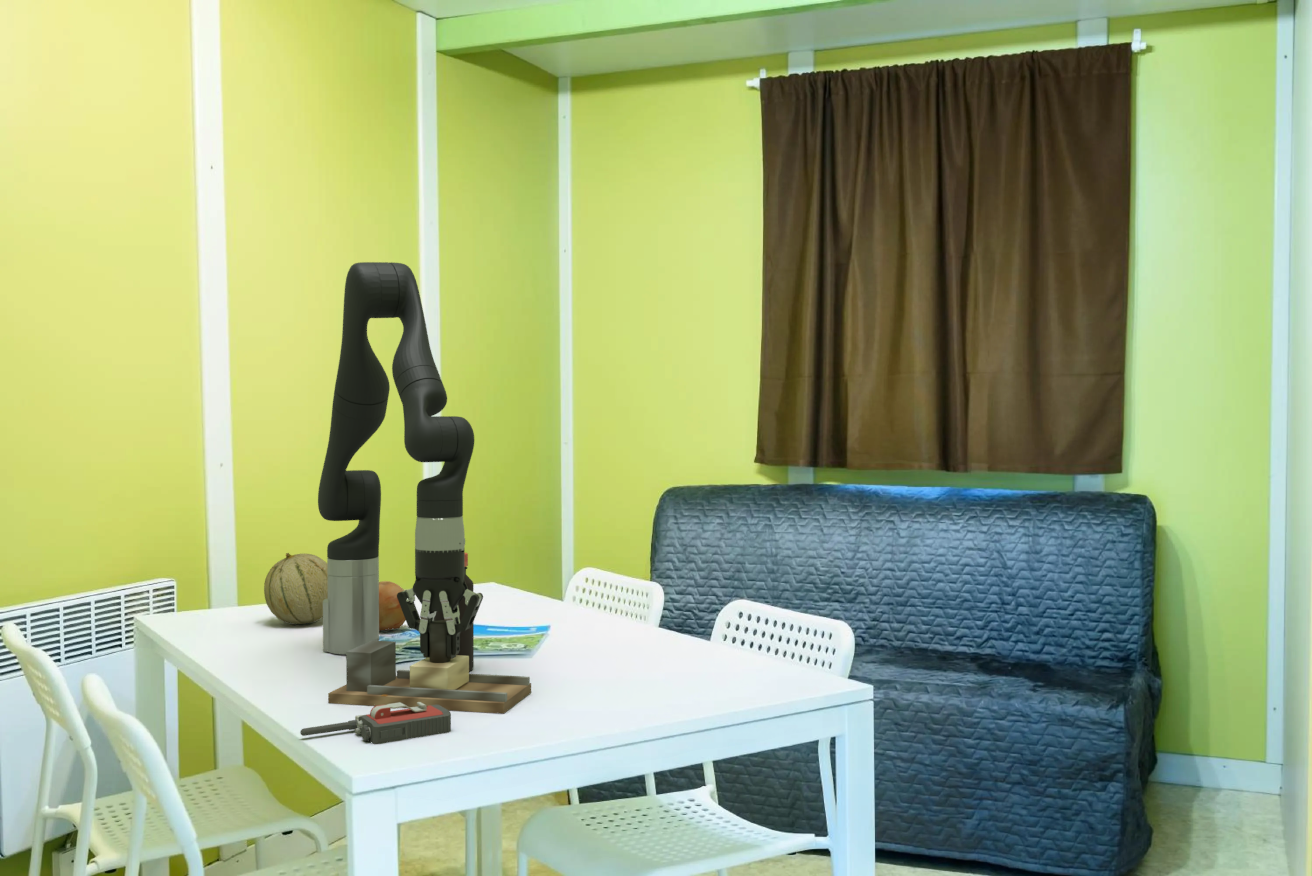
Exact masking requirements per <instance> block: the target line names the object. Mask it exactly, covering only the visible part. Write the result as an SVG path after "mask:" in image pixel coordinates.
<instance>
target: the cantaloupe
mask: <svg viewBox="0 0 1312 876" xmlns="http://www.w3.org/2000/svg"><path fill="white" fill-rule="evenodd" d="M266 574H267V575H266V577H265V579H264V586H263V593H264V599H265V603H266V605H267V607H268V609H269V611H270V612H271V613H272V615H274V616H275V617H276V618H277V619H278V620H279V621H281V622H283V623H287V624H291V625H306V623H308V624H312V623H315V622H317V621H319V620H320V619H323V600H324V599H327V598H328V590H327V562H326V561H325V560H324V559H322V558H321V557H319V556H317V555H315V554H312V553H311V554H310V553H304V552H303V553H296V554H291V553H290V552H287V553H285V558H282V559H281V560H279V561H277V562H276V563H274V565H272V566H271V568H270V569H269V571H268V572H267V573H266Z"/></svg>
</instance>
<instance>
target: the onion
mask: <svg viewBox="0 0 1312 876" xmlns="http://www.w3.org/2000/svg"><path fill="white" fill-rule="evenodd" d="M405 590H406V589H403V587H402V586H401V585H399V584H397V583H395V582H392V581H388V580H384V581H379V632H381V631H391V630H398V629H400V628H401V627H402V626H403V625H404V623H405V622H406V619H405V617H404V614H403V612H402V609H401V606H400V604H399V601H398V599H397V594H398V593H399V592H402V591H405Z"/></svg>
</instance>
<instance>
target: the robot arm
mask: <svg viewBox="0 0 1312 876" xmlns="http://www.w3.org/2000/svg"><path fill="white" fill-rule="evenodd" d="M345 277H346V278H345V284H344V293H343V295H344V297H343V312H342V313H343V316H342V333H341V345H340V353H339V361H338V366H337V374H336V378H335V384H334V391H333V398H332V407H331V418H330V427H329V429H330V430H329V435H328V442H327V448H326V453H325V457H324V463H323V466H322V469H321V471H322V472H321V476H320V481H319V485H318V492H317V505H318V506H317V507H318V511H319V514H320V516H321V517H322V519H324V520H326V521H328V522H329V521H331V522H343V521H346V522H347V521H358V524H357V526H356V527H355V528H354V529H353V530H352V531H350V532H348V533H347V534H345V535H343V536H341V537H338V538H336V539H334V540H332V541H330V542H329V543H328V545H327V547H326V548H327V550H326V552H327V554H326V560H327V562H326V563H327V590H328V598H327V599H324V600H323V617H322V652H326V653H331V654H334V655H346V652H347V651H350V650H352V649H354V648H356V647H359V646H361V645H363V644H366V643H368V642H370V641H380V631H379V582H380V564H379V563H380V561H379V560H380V558H379V557H380V552H379V551H380V548H379V547H380V546H379V545H380V528H381V527H380V526H381V525H380V524H381V523H380V522H381V521H380V520H381V506H382V487H381V481H380V480H381V479H380V477H379V475H378V474H377V472H375V470H371V469H364V470H362V469H356V470H354V469H353V470H347V469H348V466H349V464H350V462H351V460H352V459H353V457H354V456H355V455H356V454H357V452H358V451H359V450H360V449H361V448H362V447H363V446H364V445H365V444H366V443H367V442H368V441H369V440H370V439H371V437H372V436H374V435H375V433H376V432H377V431H378V429H380V427H381V425H382V424H383V422H384V420H385V417H386V414H387V407H388V402H389V396H390V386H391V385H390V381H389V377H388V375H387V373H386V371H385V369H384V367H383V365H382V363H381V361H380V360H379V358H378V357H377V355H376V353H375V352H374V350H373V348H372V346H371V342H370V341H369V336H368V325H369V321H370V319H392V318H393V319H395V318H399V321H401V323H402V327H403V329H402V331H403V332H402V334H401V338H400V341H399V342H398V343H399V344H398V346H397V348H396V351H395V353H394V356H393V359H392V365H391V367H392V368H391V371H392V372H391V373H392V379H393V382H394V384H395V387H396V390H397V393H398V396H399V399H400V401H401V405H402V410H403V412H402V413H403V422H404V423H403V424H404V427H403V428H404V430H403V431H404V433H403V434H404V436H403V439H404V440H403V441H404V448H405V450H406V452H407V454H408V456H409V457H411V458H412V459H413V460H414V461H416V462H418V463H443V466H442V468H441V470H440V472H438V474H436V475H434V476H431V477H427V478H423V479H421V480H420V481H419V482H418V483H417V486H416V522H415V529H414V555H415V556H414V576H415V581H414V583H413V585H412V588H410V589H404V590H405V591H402V592H399V593H398V594H397V599H398V601H399V604H400V606H401V609H402V612H403V614H404V617H405V619H406V621H405V622H406V624H407V627H408V628H409V629H411V630H415V631H418V633H419V636H420V637H419V643H420V644H419V652H420V654H422V657H423V658H429V622H431V621H433V620H434V617H435V615H436V611H440V612H443V614H444V619H445V620H446V623H447V628H448V633H449V634H448V635H447V658H448V659H453V658H455V657H456V654H458V653H459V651H460V632H461V631H465V630H467V629H469V628H471V627H472V624H473V622H475V619H476V616H477V615H478V612H479V609H480V606H481V604H482V601H483V600H484V599H483V598H484V596H483V593H481V592H474V591H473V592H472V591H470V590H468V589H467V585H466V583H465V581H464V575H465V553H466V551H465V545H466V538H465V525H464V505H463V504H464V500H463V499H464V498H463V497H464V496H463V495H464V487H465V483H466V479H467V475H468V474H467V473H468V470H469V466H470V464H471V459H472V456H473V453H474V447H475V432H474V430H473V427H472V424H471V423H470V422H469V421H468V419H466V418H465V417H462V416H455V415H453V416H450V415H449V416H448V415H447V416H444V415H443V416H441V415H440V416H435V415H437V414H439V413H440V412H442V411H443V410H444V409H445V408H446V405H447V403H448V395H447V391H446V389H445V385H444V384H443V380H442V378H441V376H440V373H439V370H438V367H437V365H436V362H435V360H434V356H433V354H432V349H431V345H430V340H429V335H428V327H427V324H426V320H425V314H424V313H425V312H424V309H423V305H422V298H421V295H420V290H419V285H418V283H417V279H416V277H415V274H414V273H413V271H412V269H411V268H410V267H409V266H408V265H407V264H405V263H403V262H402V263H401V262H393V261H391V262H386V261H385V262H383V261H382V262H379V261H377V262H375V261H372V262H371V261H369V262H368V261H365V262H364V261H362V262H355V263H353V264H352V265H351V266H350V268H349V269H348V271H347V275H346V276H345ZM464 596H465V603H466V605H467V607H466V610H465V612H464V615H463V618H462V620H461V623H460V619H459V616H460V612H459V607H458V604H459V603H460V601H461V600H462V598H463V597H464ZM416 598H417V600H418V601H419V602H420V604H421V610H420V614H419V612H418V609H417V606H416V604H415V601H416Z"/></svg>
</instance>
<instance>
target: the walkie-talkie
mask: <svg viewBox="0 0 1312 876" xmlns="http://www.w3.org/2000/svg"><path fill="white" fill-rule="evenodd" d="M417 704H418V705H419V706H417V707H408V706H406V705H404V704H402V703H401V702H399V703H392V704H387V705H378V706H373V707H372V708H371V710H370V711H369V713H368V714H358V715H355V717H354V718H355V719H353V720H348V721H345V722H338V723H333V724H332V723H331V724H324V725H318V726H311V727H303V728H301V729H300V732H299V733H300V735H301V736H302V737H303V736H305V737H306V736H312V735H319V734H326V733H327V734H328V733H333V732H334V733H335V732H339V731H346V730H349V731H353V730H354V733H355V735H359V736H361V738H362V740H363V741H364V742H368V740H369V742H370V743H371V742H372V743H371V744H373V745H380V744H385V743H386V744H387V743H394V742H398V741H403V740H409V739H410V740H411V739H416V738H423V737H427V736H428V737H429V736H434V735H441V734H447V733H448V734H449V733H451V731H452V717H451V716H452V712H451V710H447V709H445V708H443V707H441V706H440V705H430V706H426V705H425V704H423V703H421V702H417ZM403 707H407V708H404V709H403ZM391 709H392V710H391ZM393 709H394V710H393ZM395 709H397V710H395Z"/></svg>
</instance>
